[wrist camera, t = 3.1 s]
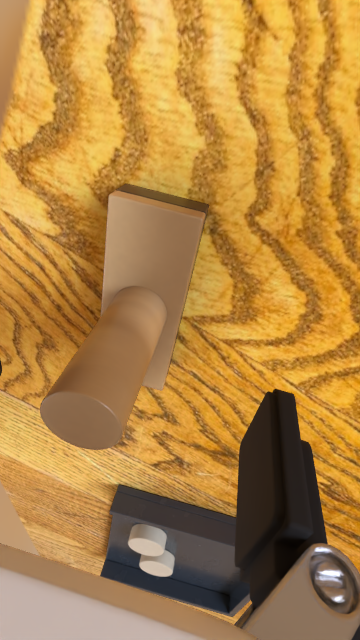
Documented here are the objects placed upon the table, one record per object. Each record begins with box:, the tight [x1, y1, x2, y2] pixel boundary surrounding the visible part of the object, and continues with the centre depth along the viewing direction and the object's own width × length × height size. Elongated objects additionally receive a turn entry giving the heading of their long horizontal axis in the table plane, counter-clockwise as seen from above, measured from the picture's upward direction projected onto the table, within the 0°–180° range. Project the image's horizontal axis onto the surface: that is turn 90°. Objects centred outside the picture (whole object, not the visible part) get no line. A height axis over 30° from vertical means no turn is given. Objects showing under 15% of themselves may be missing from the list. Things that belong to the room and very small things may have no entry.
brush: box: [40, 184, 209, 450], centre depth 12 cm, size 4×9×8 cm, turn 169°
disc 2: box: [139, 550, 175, 577], centre depth 30 cm, size 3×3×1 cm
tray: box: [100, 485, 251, 617], centre depth 29 cm, size 14×15×2 cm
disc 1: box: [128, 524, 167, 556], centre depth 28 cm, size 3×3×1 cm
